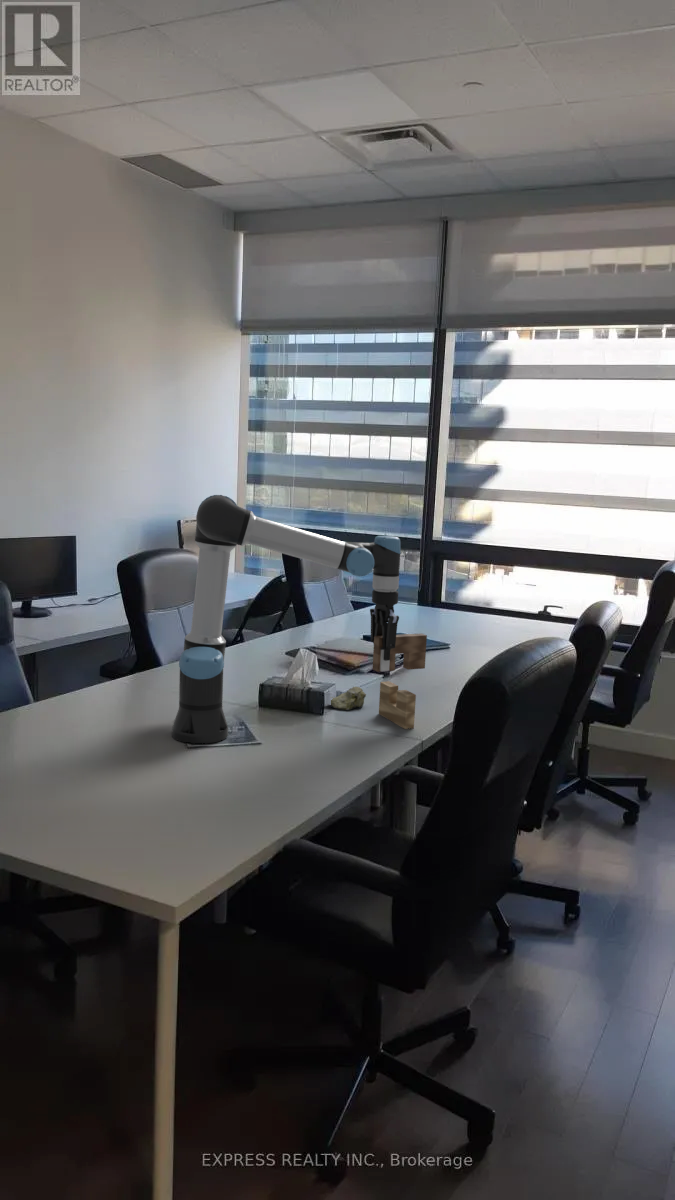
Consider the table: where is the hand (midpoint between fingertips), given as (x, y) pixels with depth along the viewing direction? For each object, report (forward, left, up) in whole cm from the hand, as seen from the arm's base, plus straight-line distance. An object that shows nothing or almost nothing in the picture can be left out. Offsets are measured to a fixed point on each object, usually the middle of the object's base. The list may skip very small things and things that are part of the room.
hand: (381, 669), depth 263 cm
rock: (-2, +19, -17) cm, 25 cm away
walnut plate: (+6, 0, 0) cm, 6 cm away
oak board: (+6, 0, -16) cm, 17 cm away
